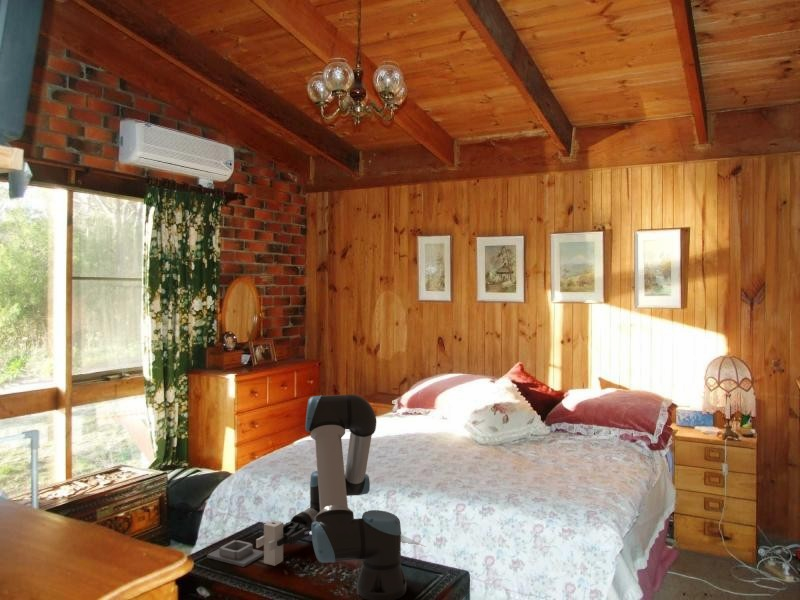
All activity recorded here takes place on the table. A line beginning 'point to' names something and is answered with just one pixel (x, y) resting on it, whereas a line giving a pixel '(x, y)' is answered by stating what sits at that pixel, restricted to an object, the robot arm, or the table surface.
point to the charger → (271, 533)
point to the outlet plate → (236, 553)
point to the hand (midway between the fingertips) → (263, 545)
